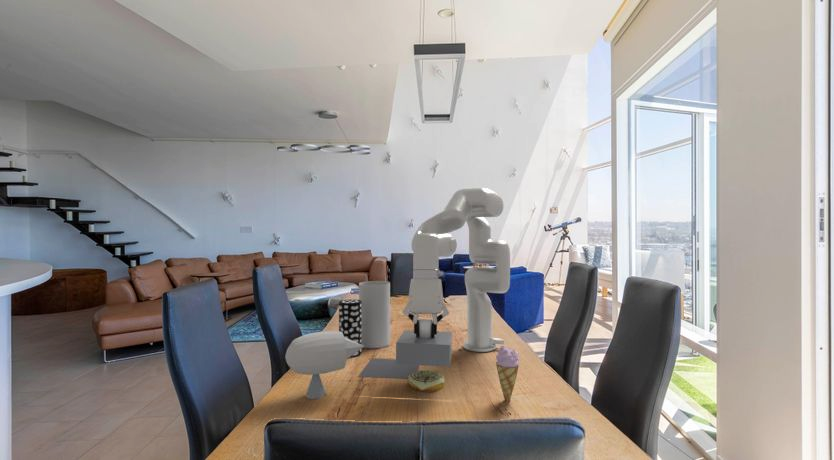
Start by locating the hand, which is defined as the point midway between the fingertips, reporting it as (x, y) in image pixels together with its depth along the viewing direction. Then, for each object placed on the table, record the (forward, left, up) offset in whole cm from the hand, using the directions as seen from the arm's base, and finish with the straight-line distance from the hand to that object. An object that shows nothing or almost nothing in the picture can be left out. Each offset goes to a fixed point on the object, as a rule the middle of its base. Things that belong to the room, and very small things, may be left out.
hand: (425, 335), depth 118 cm
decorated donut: (0, 0, -15) cm, 16 cm away
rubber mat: (+13, -13, -15) cm, 24 cm away
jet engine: (+28, +9, -15) cm, 33 cm away
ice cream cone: (-23, +7, -15) cm, 29 cm away
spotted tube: (+31, -26, -15) cm, 43 cm away
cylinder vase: (+25, -40, -15) cm, 50 cm away
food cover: (0, 0, -6) cm, 6 cm away
